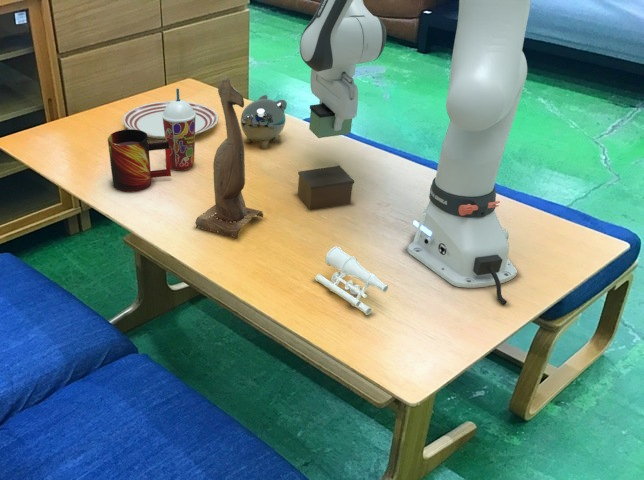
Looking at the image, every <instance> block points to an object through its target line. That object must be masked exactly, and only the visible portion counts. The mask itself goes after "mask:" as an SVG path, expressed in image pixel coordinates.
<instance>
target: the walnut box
mask: <svg viewBox="0 0 644 480" xmlns="http://www.w3.org/2000/svg"><path fill="white" fill-rule="evenodd" d="M297 175H298V183H297V185H298V186H297V196H298V197H299V199H300V200H301V201H302V202H303V203H304V205H305V206H306V207H307V209H308V210H309V211H314V210H315V211H316V210H321V209H327V208H334V207H335V208H336V207H340V206H347V205H351V201H352V192H353V185H354V184H355V180H354V179H353V177H351V176H350V175H349V174H348V172H346V171H345V169H343V167H342V166H341V165H334V166H327V167H319V168H313V169H306V170H298V171H297Z"/></svg>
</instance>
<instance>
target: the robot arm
mask: <svg viewBox="0 0 644 480" xmlns="http://www.w3.org/2000/svg"><path fill="white" fill-rule="evenodd" d="M530 11H531V0H458V13H457V14H458V16H457V25H456V31H455V36H454V37H455V38H454V43H453V47H452V48H453V49H452V55H451V63H450V69H449V78H448V87H447V94H446V101H445V108H446V113H447V116H448V118H449V122H448V126H447V128H446V131H445V135H444V137H443V141H442V145H441V150H440V154H439V159H438V164H437V169H436V174H435V176H434V177H433V179H432V182H431V184H430V188H429V195H428V199H429V201H428V203H427V205H426V207H425V209H424V211H423V212H422V214H421V215H420V218H419V222H418V221H417V220H413V225H414V227H416V232H415V234H414V238H413V241H412V242H411V243H410V244H409V245H408V246H407V249H406V252H407V253H408V254H409V255H411V256H412V257H414V258H415V259H416V260H417V261H419V262H420V263H421V264H423V265H425V266H426V267H427V268H429V269H430V270H431V271H433V272H434V273H435V274H436V275H438V276H439V277H441V278H442V279H444V280H445V281H446V282H448V283H449V284H450V285H452V286H454V287H458V288H467V289H468V288H470V289H473V288H486V287H492V286H495V288H496V297H497V300H498V301H499V303H501V304H502V305H507V304H508V303H507V300H506V299H504V297H503V295H502V284H504V283H507V282H509V281H511V280H513V279H514V278H515V277H516V276H517V274H518V270H517V268H516V267H515V266H514V264H513V263H512V261H511V260H510V259H509V250H510V245H509V241H508V240H509V238H510V234H509V231H508V230H507V229H503V227H502V225H501V222H500V220H499V218H498V215H497V214H496V213H497V212H496V208H497V207H500V205H499V204H500V203H501V201H500V200H498V201H497V192H496V190H497V187H496V181H497V177H498V174H499V171H500V167H501V163H502V159H503V155H504V152H505V148H506V145H507V142H508V139H509V136H510V132H511V129H512V126H513V123H514V120H515V117H516V113H517V110H518V106H519V104H520V100H521V97H522V93H523V91H524V87H525V84H526V80H527V75H528V63H527V59H526V55H525V53H524V51H523V47H524V41H525V36H526V31H527V24H528V19H529V16H530ZM386 43H387V28H386V26H385V24H384V23H383V21H382V20H381V19H380V18H379V17H378V16H377V15H373V13H371V11H369V9H368V8H367V7H366V6H365V3H364V0H321V1H320V3H319V5H318V8H317V9H316V12H315V14H314V15H313V17H312V18H311V20H310V21H309V23H307V25H306V27H305V28H304V29H303V32H302V34H301V36H300V40H299V54H300V57H301V59H302V61H303V62H304V64H306V66H308V67H309V68H310V91H311V93H312V95H314V96H315V97H316V98H317V99H318V100H319V102H318V104H325V105H326V106H327V107H328V108H330V109H331V110H332V111H333V112H334V113H335V117H336V119H335V122H333V126H332V128H333V129H334V130H335V131H339V130H341V128H342V123H343V121H344V120H346V119H352V120H353V119H355V118H356V117H357V114H358V109H359V108H358V106H359V88H358V86H357V84H356V83H355V79H354V76H355V75H356V74H355V73H356V68H357V65H361V64H366V63H371V62H374V61H376V60H377V59H378V58H380V56H381V55H382V53H383V51H384V49H385V47H386Z"/></svg>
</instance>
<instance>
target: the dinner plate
mask: <svg viewBox="0 0 644 480" xmlns="http://www.w3.org/2000/svg"><path fill="white" fill-rule="evenodd" d="M171 101H172V100H171ZM171 101H169V100H168V101H167V100H165V101H156V102H149V103H146V104H142V105H139V106H137V107H134V108H132V109H130V110H129V111H127V112H126V113H125V114H124V115H123V118H122V123H123V125H124V126H125V128H127V129H134V130H141V131H143V132H145V133H147V135H148V138H152V139H159V140H165V133H164V126H163V118H162V114H163V113H164V110H165V108H166V106H167V105H168V104H169V103H170V102H171ZM187 102H188V103H189V104H190V105H191V106H192V108H193V110H194V112H195V113H196V116H195V136H196V135H199V134H201V133H204V132H206V131H208V130H210V129H212V128H214V127H215V126H216V125H217V124H218V122H219V115H218V113H217V112H216V111H215V110H214V109H212V107H211V108H210V107H209V106H206V105H203V104H199V103H196V102H192V101H191V102H190V101H187Z"/></svg>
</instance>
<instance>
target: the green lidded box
mask: <svg viewBox="0 0 644 480" xmlns="http://www.w3.org/2000/svg"><path fill="white" fill-rule="evenodd" d="M309 110H310V113H309V128H308V130H309V131H310V132H311V133H312V134H313V135H314V136H315V137H317V139H322V138H330V137H337V136H345V135H351V133H352V126H353V125H352V124H353V119H346V120H344V121H343V123H342V128H341V130H339V131H335V130H334V129H333V128H332V126H333V122H335V119H336V117H335V113H334V112H333V111H332V110H331V109H330V108H328V107H327V106H326V105H325V104H320V103H318V104H310V105H309Z"/></svg>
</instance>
